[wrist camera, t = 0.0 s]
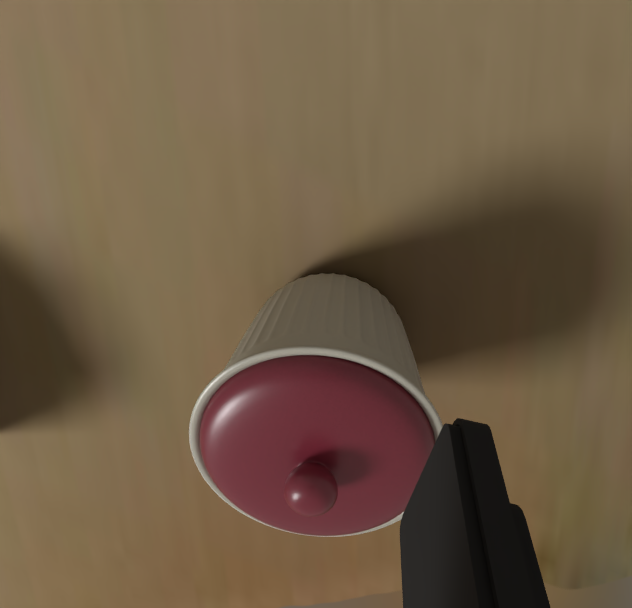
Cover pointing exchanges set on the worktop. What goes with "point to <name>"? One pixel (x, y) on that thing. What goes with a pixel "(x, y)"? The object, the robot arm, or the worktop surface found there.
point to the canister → (317, 413)
